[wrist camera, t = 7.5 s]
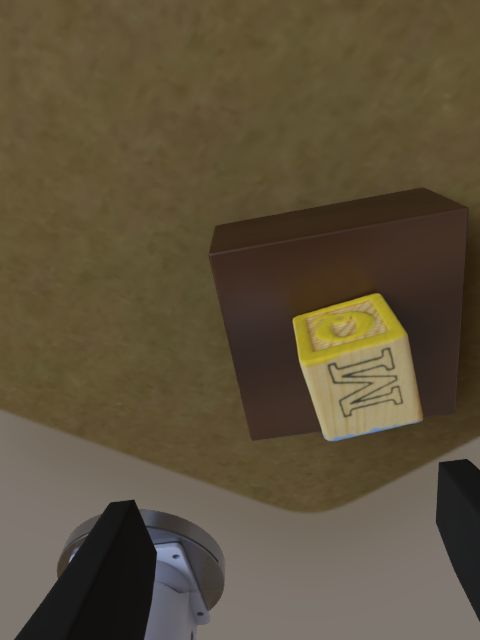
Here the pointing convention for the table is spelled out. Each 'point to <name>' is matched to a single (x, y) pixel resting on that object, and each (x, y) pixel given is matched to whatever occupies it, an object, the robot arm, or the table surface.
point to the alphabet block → (358, 368)
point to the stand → (340, 294)
